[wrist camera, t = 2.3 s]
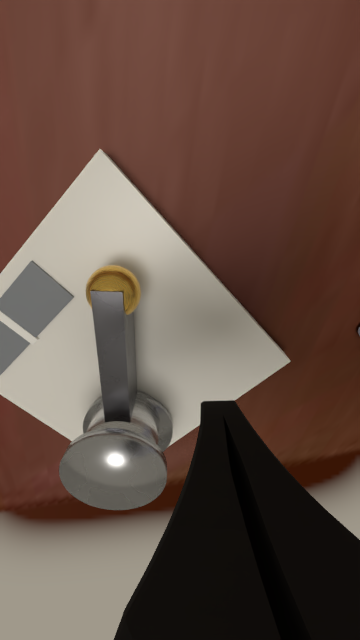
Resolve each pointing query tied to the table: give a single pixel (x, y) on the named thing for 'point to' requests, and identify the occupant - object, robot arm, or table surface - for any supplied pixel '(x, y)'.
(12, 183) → the table surface
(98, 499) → the capstan
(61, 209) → the stand
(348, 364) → the table surface
